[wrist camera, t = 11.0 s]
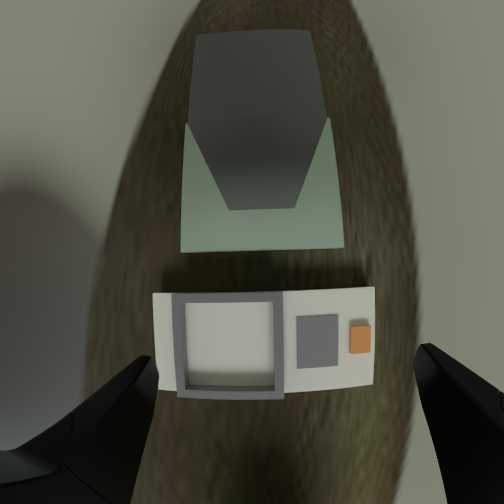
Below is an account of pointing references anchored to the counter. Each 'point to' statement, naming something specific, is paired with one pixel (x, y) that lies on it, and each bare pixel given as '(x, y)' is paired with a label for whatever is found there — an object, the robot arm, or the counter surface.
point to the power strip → (264, 342)
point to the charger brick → (257, 113)
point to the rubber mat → (261, 220)
